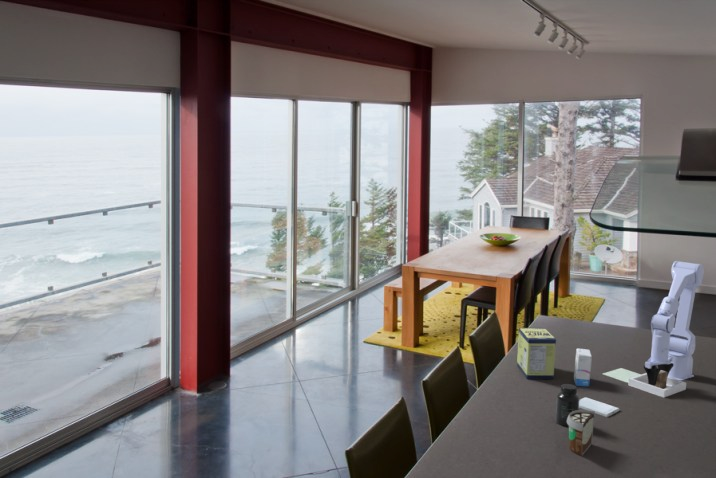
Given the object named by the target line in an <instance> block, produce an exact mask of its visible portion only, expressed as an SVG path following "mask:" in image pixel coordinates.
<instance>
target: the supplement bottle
mask: <svg viewBox="0 0 716 478" xmlns="http://www.w3.org/2000/svg"><path fill="white" fill-rule="evenodd" d="M577 393H578V388H577V386H576V385H575V384H570V383H564V384H562V385H561V386H560V392H558V394H557V396H556V407H555V422H556V424H558V425H561V426H562V427H563V426H564V427H569V425H568V424H567V418H568V415H569V414H570V413H571V412H572V411H576V410H580V408H579V400H580V397H579V395H578V394H577Z"/></svg>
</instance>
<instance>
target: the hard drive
mask: <svg viewBox="0 0 716 478" xmlns="http://www.w3.org/2000/svg"><path fill="white" fill-rule="evenodd" d="M579 409H580V410H590V411H595V415H596V414H597V415H600V416H603V417H606V418H608V417H611V416H612V415H614V414H616V413H617V412H619V411H620V408H619V407H616V406H614V405H610V404H608V403H604V402H602V401H598V400H594V399H592V398H589V397H585V396H584V397H583V398H579Z"/></svg>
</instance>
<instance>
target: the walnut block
mask: <svg viewBox="0 0 716 478" xmlns="http://www.w3.org/2000/svg"><path fill="white" fill-rule="evenodd" d="M667 373H668V372H666V371H663V370H660V372H659V374H658V377H657V381H656V385H655V386H656V387H658V388H661V389H664V388H666V384H667ZM648 384H649V382H648Z"/></svg>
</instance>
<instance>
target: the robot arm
mask: <svg viewBox="0 0 716 478" xmlns="http://www.w3.org/2000/svg"><path fill="white" fill-rule="evenodd" d="M670 273H671V278H672V282H671V285H670V289H669V292H668V294H667V295H668V296H665V297H664V298H663V299H662V300H661V303H660V306H659V308H658V310H657V313H656V314H654V315H653V316H652V317H651V322H650V327H651V335H652V338H651V339H652V340H651V351H650V352H651V353H650V357H649V358H648V360H647V361H645V363H644V365H643V369H644V371H645V373H647V376H648V382H649V384H650V385H653V386H655V385H656V381H657V377H658V374H659V372H660V370H663V371H666V372H668V373H667V377H670V378H673V379H676V380H679V381H684V380H686V379H687V380H688V379H689V378H690V379H691V378H694V377H695V375H694V374H693V365H694V358H693V356H692V355H693V354H694V352H695V350H696V336H695V334H694V333H693V332H692V331H691V330H690V324H691V319H692V313H693V307H694V303H695V295H696V291H697V287H701V286H702V283H703V279H704V274H705V269H704V266H703V265H702V264H701V263H693V262H687V261H686V262H684V261H681V260H675V261H673V264H672V265H671V269H670Z"/></svg>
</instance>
